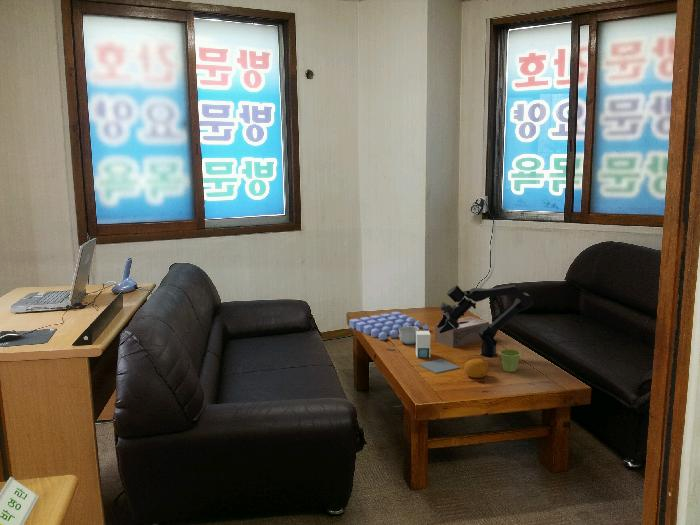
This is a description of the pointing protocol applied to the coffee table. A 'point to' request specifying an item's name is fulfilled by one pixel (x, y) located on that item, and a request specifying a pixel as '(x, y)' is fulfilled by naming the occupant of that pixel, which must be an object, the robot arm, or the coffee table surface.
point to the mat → (439, 366)
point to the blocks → (384, 324)
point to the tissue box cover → (461, 332)
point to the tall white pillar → (422, 341)
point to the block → (422, 352)
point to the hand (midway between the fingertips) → (438, 329)
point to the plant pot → (510, 359)
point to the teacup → (408, 334)
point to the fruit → (476, 368)
